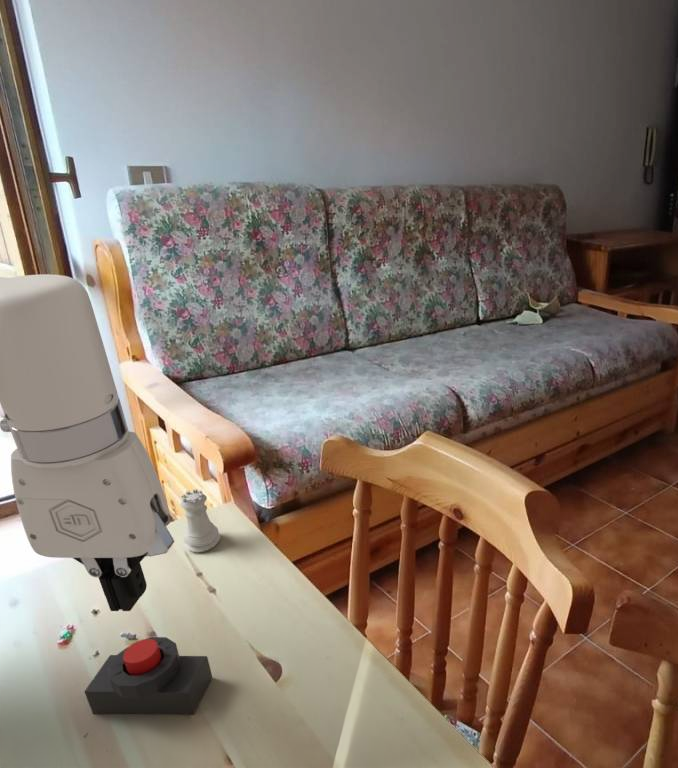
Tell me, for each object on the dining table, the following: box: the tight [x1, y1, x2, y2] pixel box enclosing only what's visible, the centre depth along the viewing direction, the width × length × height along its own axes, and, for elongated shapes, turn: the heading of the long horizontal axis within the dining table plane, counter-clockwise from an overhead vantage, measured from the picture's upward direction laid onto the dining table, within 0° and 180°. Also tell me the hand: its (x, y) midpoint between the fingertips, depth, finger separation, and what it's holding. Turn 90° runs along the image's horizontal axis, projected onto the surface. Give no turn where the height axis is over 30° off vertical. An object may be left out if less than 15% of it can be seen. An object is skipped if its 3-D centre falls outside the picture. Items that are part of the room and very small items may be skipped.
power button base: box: [84, 636, 213, 716], centre depth 63 cm, size 10×6×5 cm, turn 90°
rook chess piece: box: [179, 488, 221, 554], centre depth 84 cm, size 4×4×8 cm
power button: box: [123, 638, 161, 675], centre depth 62 cm, size 3×3×2 cm
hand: (129, 599), depth 59 cm, fingers closed
